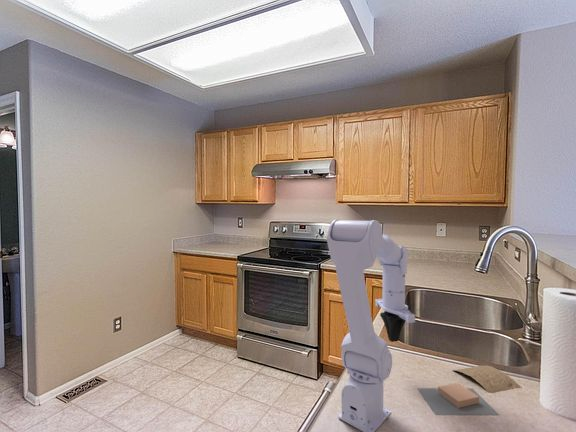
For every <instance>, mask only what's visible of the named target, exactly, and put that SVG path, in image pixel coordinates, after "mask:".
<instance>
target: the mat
mask: <svg viewBox="0 0 576 432" xmlns="http://www.w3.org/2000/svg"><path fill="white" fill-rule="evenodd" d="M466 388H467V387H466ZM416 389H417V391H418V392H419V394H420V395H421V396H422V398H423V399H424V401H425V403H426V404H427V405H428V407H429V408H430V409H431V411H432V412H433V413H434V415H435V416H500V413H499V412H498V411H496V410H495V409H494V408H493V406H491V405H490V404H489V403H488V402H487V401H486V400H485V399H484V398H483V397H482V396H481V395H480V394H479V393H478V392H477V391H476V390H475V389H474V388H472V387H471V388H467V389H468V390H470V391H471V392H473V393H474V394H476V395H477V396H479V403H478V404H473V405H469V406H465V407H460V408H458V407H456V406H455V405H454V404H452V403H451V402H450V401H448V400H447V399H446V398H444V397H443V396H442V395H440V394H439V393H438V387H436V388H435V387H434V388H433V387H431V388H430V387H429V388H426V387H425V388H422V387H420V388H419V387H418V388H416Z"/></svg>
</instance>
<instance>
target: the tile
mask: <svg viewBox="0 0 576 432" xmlns="http://www.w3.org/2000/svg"><path fill="white" fill-rule="evenodd" d="M437 388H438V393H439V394H440V395H442V396H443V397H444V398H446V399H447V400H448V401H450V402H451V403H452V404H454V405H455V406H456V407H458V408H460V407H465V406H469V405H473V404H478V403H479V396H477V395H476V394H474V393H473V392H471V391H470V390H468V389H467V387H465V386H464V385H462V384H461V383H459V382H455V383H451V384H446V385H441V386H438V387H437Z"/></svg>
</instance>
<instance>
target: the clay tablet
mask: <svg viewBox="0 0 576 432" xmlns="http://www.w3.org/2000/svg"><path fill="white" fill-rule="evenodd" d="M453 371H457V372H459V373H463V375H467V376H468V377H471V378H472V379H473V380H474V381H476V382H477V383H479V385H480V386H482V387H483V389H484V390H486V392H488V393H489V394H495V393H499V392H506V391H510V390H514V389H522V386H521V385H519V384H518V383H517V381H516V380H515V379H514V378H512V377H510V376H509V375H508V374H506V373H504V372H502V371H501V369H497V368H496V367H493V366H490V365H477V366H471V367H466V368H459V369H453V370H452V372H453Z"/></svg>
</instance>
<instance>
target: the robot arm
mask: <svg viewBox="0 0 576 432" xmlns="http://www.w3.org/2000/svg"><path fill="white" fill-rule="evenodd" d="M326 242H327V247H328V252H329V256H330V261H331V262H332V263H333V264H334V265H335V272H336V277H337V280H338V286H339V291H340V296H341V301H342V305H343V308H344V313H345V318H346V322H347V326H348V327H347V328H348V331H349V332H348V333H347V334H346V335H345V336H344V337H343V340H342V343H341V345H340V347H341V355H340V356H341V358H340V359H341V362H342V366H343V367H344V368H345V369H346V373H347V374H348V375H349V377H348V379H347V380H348V381H347V382H346V384H345V385H344V386H343V387H342V389H341V412H340V413H339V414H337V415H338V416H337V417H338V419H340V420H342V421H343V422H345V423H347V424H349V425H351V427H352V426H353V427H354V428H356V429H358V430H359V431H361V432H376V430H377V429H378V428H379V427H380V426H381V425H382V424H383V423H384V422H385V421H386V420H387V419H388V417H389V416H390V415H391V414H392V411H391V410H389V409H388V408H385V407H384V381H386V380H387V379H388V378H389V377H390V375H391V372H392V368H393V367H392V366H393V355H392V353H391V350H390V349H389V346H388V343H387V341H386V340H384V339H383V338H382V337H381V336H380V335H378V334H377V333H376V332H375V328H374V322H373V318H372V313H371V312H372V311H371V307H370V302H369V297H368V295H369V294H368V291H367V285H366V281H365V275H364V274H365V273H364V271H365V270H368V269H369V268H372V267H373V266H374V264H375V261H376V260H377V259H378V262H379V265H380V266H382V297H381V298H376V299H375V300H374V301H375V307H378V308H379V307H380V308H381V309H382V310H383V311H384V312H380V314H379V316H380V317H381V320H382V321H383V323H384V326H385V330H386V334H387V339H388V341H390V342H391V343H393V342H394V343H395V342H399V339H400V334H401V332H402V329H403V327H404V325H405V323H407V324H412V323H416V314H414V313H412V312H411V311H410V309H409V305H407V304H406V274H407V271H408V263H409V250H408V249H407V248H405V247H404V245H403V246H402V245H398V244H397V243H396V242H395V241H394V240H393V239H392V238H391V236H390V235H389V234H383V228H382V226H381V223H380V222H379V221H378V220H376V219H372V220H354V219H353V220H352V219H350V220H348V219H347V220H344V219H343V220H342V219H341V220H340V219H334V220H332V222H331V223H330V225H329V226H328V229H327V234H326Z"/></svg>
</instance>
